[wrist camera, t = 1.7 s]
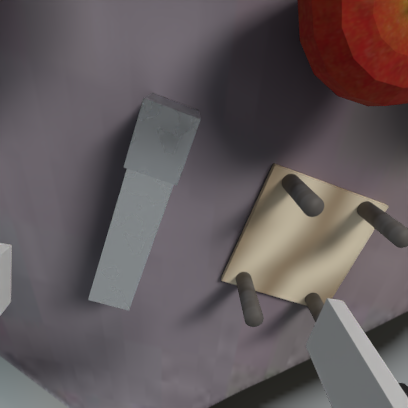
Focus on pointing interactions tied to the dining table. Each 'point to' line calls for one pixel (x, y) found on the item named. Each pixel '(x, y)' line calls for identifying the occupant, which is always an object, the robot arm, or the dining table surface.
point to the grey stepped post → (143, 196)
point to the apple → (358, 48)
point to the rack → (303, 241)
